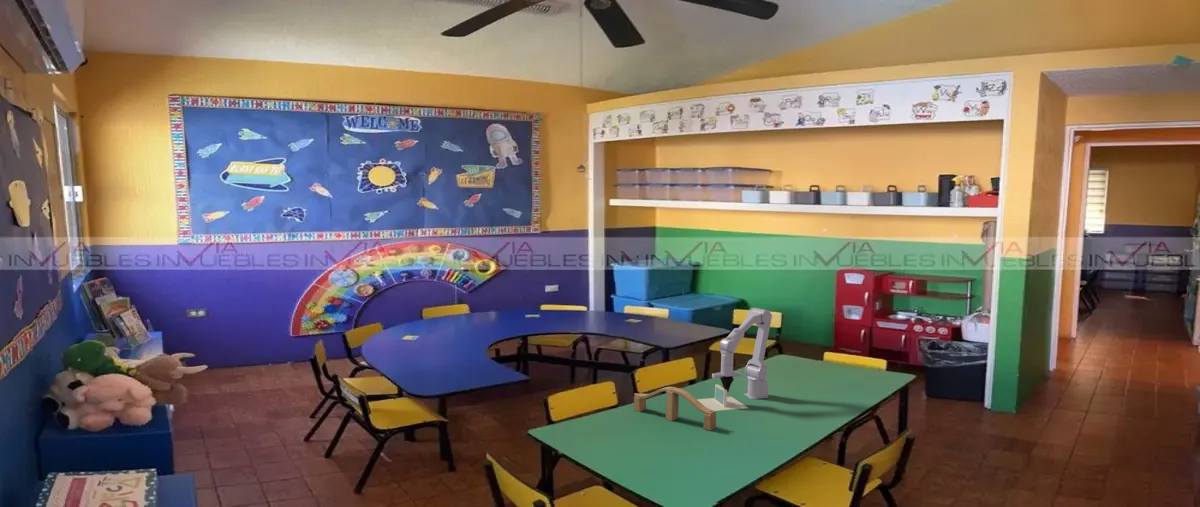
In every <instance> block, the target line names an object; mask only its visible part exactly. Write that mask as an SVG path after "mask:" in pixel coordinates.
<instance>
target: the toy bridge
mask: <svg viewBox="0 0 1200 507" xmlns="http://www.w3.org/2000/svg"><path fill="white" fill-rule="evenodd" d="M662 392H665V393H666V399H665V400H666V402H665V405H666V406H665V420H667V421H672V422H673V421H675V420H677V419H679V405H680V404H679V403H680V402H679V400H680V397H679V396H681V397H682V398H683V399H685V400H686V401H687V402H688V403H690V405H691V406H693V407H694V408H695V409H696V410H698V411H699V412H701V413H702V414H703V429H704V430H707V431H712V430H714V429H716V428H717V411H714V410H711V409H708V408H707V407H705V406H704V405H702V404H701V403H700V402H699V401H698V400H697V398H695V397H694V395H692V394H691V393H690V392H688V391H687V390H685V389H682V388H679V387H677V386H676V387H675V386H666V387H663V388H660V389H657V390H655V391H652V392H651V393H642V392H639V393H637V392H635V393H634V397H633V411H635V412H638V413H641V412H643V411H646V410H647V398H650V397H653V396H654V395H655V396H656V395H657V394H659V393H662Z"/></svg>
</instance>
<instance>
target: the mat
mask: <svg viewBox="0 0 1200 507" xmlns="http://www.w3.org/2000/svg"><path fill="white" fill-rule="evenodd" d="M696 399H697V398H696ZM697 400H698V401H699V402H700V403H701V404H702V405H704V406H705V407H707V408H708V409H711V410H714V411H716V412H717V411H730V410H739V409H740V410H743V409H749V407H748V406H747V405H745V404H743V403H741V402H740V401H738V400H737V399H736V398H734V397H732V396H727V407H723V406H722V405H720V404H719V403H717V402H716V401H715V397H711V398H698V399H697Z"/></svg>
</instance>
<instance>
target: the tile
mask: <svg viewBox="0 0 1200 507" xmlns="http://www.w3.org/2000/svg"><path fill="white" fill-rule="evenodd" d="M714 386H715V387H714V398H715V401H716V402H717V403H719V404H720V405H722V406H723V407H727V397H728V392H727V390H726V389H724V388H723V386H721V385H720V384H715V385H714Z"/></svg>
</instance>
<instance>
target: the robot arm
mask: <svg viewBox="0 0 1200 507" xmlns="http://www.w3.org/2000/svg"><path fill="white" fill-rule="evenodd" d="M772 317H773V314H772V313H771V311H770V310H769V309H762V308H758V307H755V306H754V307H751V308H750V309H749V311H747V317H745V319H744V320H743V322H742V323H741V324H740V325H739V326H738V328H737V327H735V328H733V329H732V331H731V332H730V333H729V334H727V335H728V336H727V337H725V338H723V339H721V340H720V342H719V344H718V348H719V351H720V354H721V355H720V356H721V357H720V361H721V362H720V372H715V373H713V372H712V374H711V378H712V379H720V381H721V384H722V387H723V388H724V389H726V390H727V393H729V390H730V388H731V386H732V384H733V382H734V380H735V379H734V377H742V372H741V371H734V353H735V351H736V350H737V347H738V345H739V343H740V342H741V340H742V339H744V337H745V333H746V331H747V330H749V329H750V327H752V326H753V325H754V324H756V326H757V328H758V329H757V333H756V337H755V342H754V343H755V344H754V348H753V353H752V358H750V359H749V360H748V361H747V364H746V366H745V367H744V374H745V376H746V378H747V392H746V393H743V395H744V396H746V397H748V398H749V399H751V400H756V399H769V382H768V380H767V379H766V378H767V376H768V371H767V370H768V369H767V368H768V365H767V364H766V362H765V361H764V359H765V354H766V348H767V342H768V338H769V334H770V330H771V323H772Z"/></svg>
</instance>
